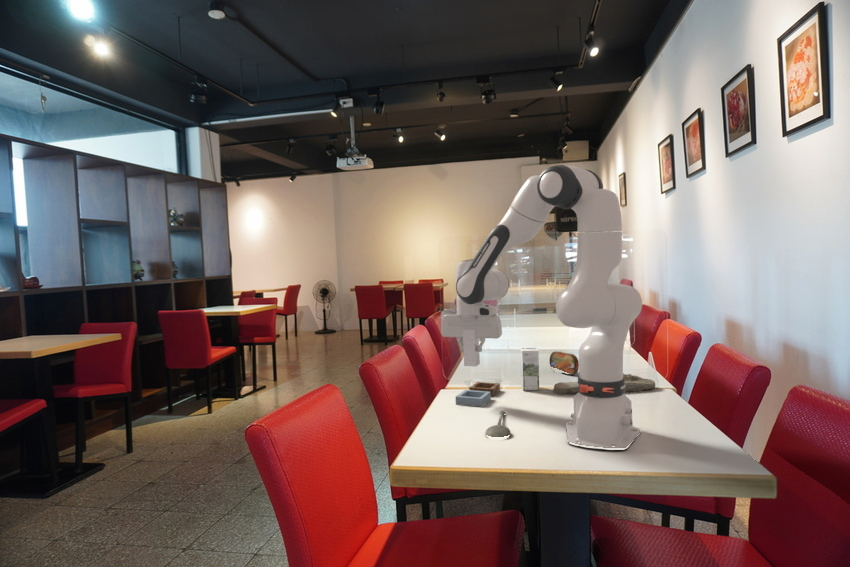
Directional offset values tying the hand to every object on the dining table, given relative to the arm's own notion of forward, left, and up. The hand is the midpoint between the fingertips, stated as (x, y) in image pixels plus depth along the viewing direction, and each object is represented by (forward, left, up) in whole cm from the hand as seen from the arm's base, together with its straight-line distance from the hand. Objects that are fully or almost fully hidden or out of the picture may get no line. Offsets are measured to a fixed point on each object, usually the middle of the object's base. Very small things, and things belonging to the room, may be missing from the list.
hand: (471, 351), depth 170 cm
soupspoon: (-21, -16, -18) cm, 32 cm away
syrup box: (+21, -14, -17) cm, 31 cm away
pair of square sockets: (+6, 0, -17) cm, 18 cm away
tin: (+49, -21, -17) cm, 56 cm away
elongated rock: (+26, -38, -17) cm, 50 cm away
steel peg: (0, 0, -5) cm, 5 cm away
